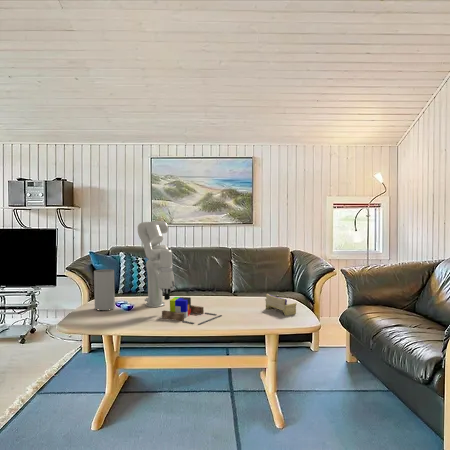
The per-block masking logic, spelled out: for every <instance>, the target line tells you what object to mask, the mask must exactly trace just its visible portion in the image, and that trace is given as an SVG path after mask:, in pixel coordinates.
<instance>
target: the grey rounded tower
mask: <svg viewBox="0 0 450 450" xmlns="http://www.w3.org/2000/svg"><path fill="white" fill-rule="evenodd" d="M93 280H94V281H93V284H94V285H93V286H94V287H93V292H94V294H93V295H94V296H93V297H94V310H95V309H99V310H109V309H113V310H114V309H115V308H116V302H115V301H116V299H115V298H116V297H115V296H116V293H115V292H116V291H115V289H116V288H115V270H114V269H111V268H110V269H109V268H108V269H107V268H105V269H97V270H94V271H93ZM109 311H110V310H109Z"/></svg>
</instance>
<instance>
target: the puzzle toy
mask: <svg viewBox="0 0 450 450" xmlns="http://www.w3.org/2000/svg"><path fill="white" fill-rule="evenodd" d="M191 305H192V298H191V297H190V296H189V297H185V296H182V297H181V296H175V297H173V298H170V299H169V311H171V312H177V313H183V314H184V319H186V318H188V317H189V316H190V315H192V313H191Z"/></svg>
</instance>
